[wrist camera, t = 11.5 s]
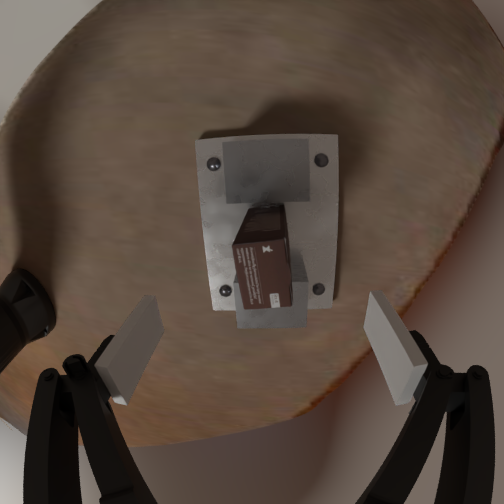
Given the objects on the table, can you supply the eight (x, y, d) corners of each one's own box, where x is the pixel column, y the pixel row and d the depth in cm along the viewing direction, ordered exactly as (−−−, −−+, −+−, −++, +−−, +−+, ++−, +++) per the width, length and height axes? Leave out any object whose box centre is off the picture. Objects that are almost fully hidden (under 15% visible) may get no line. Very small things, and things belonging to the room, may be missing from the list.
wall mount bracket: (214, 305, 38) (205, 332, 32) (197, 140, 30) (180, 139, 24) (330, 303, 36) (338, 330, 31) (335, 135, 28) (349, 132, 23)
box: (245, 208, 31) (229, 243, 20) (284, 203, 31) (291, 236, 20) (253, 256, 33) (242, 312, 22) (290, 252, 33) (298, 307, 22)
